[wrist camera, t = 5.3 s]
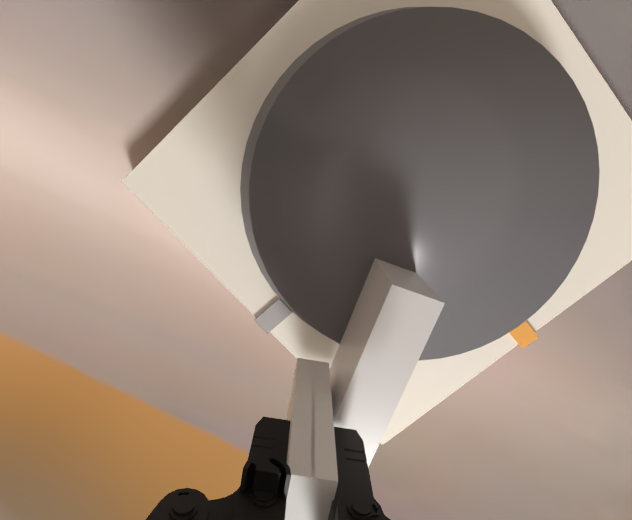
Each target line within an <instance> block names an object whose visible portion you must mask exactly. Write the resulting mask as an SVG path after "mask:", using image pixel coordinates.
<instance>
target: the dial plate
mask: <svg viewBox="0 0 632 520" xmlns="http://www.w3.org/2000/svg"><path fill="white" fill-rule="evenodd" d="M419 7H454V8H460V9H466V10H471V11H477V12H480V13H483V14H486V15H489V16H492V17H495V18H498V19H501V20H503V21H505V22H507V23H509V24H511V25H512V26H514V27H516V28H518V29H520V30H522V31H524V32H525V33H526V34H528V35H529V36H531V37H532V38H533V39H535V40H536V41H537V42H539V43H540V44H542V45H543V46H544V47H545V48H546V49H547V50H548V51H549V52H550V53H551V54H552V55H553V56H554V57H555V58H556V59H557V60H558V61H559V62H560V64H561V65H562V66H563V68H564V69H565V70H566V72H567V73H568V74H569V76H570V77H571V78H572V80H573V81H574V83H575V85H576V87H577V88H578V90H579V92H580V94H581V96H582V98H583V100H584V101H585V104H586V107H587V109H588V112H589V115H590V118H591V120H592V123H593V127H594V131H595V136H596V141H597V146H598V156H599V169H600V173H599V190H598V198H597V204H596V209H595V214H594V219H593V222H592V225H591V228H590V231H589V234H588V237H587V240H586V242H585V244H584V246H583V249H582V251H581V253H580V255H579V257H578V259H577V261H576V263H575V264H574V266H573V268H572V269H571V271H570V273H569V274H568V276H567V277H566V279H565V280H564V282H563V283H562V284H561V285H560V287H559V288H558V289H557V291H556V292H555V293H554V294H553V296H552V297H551V298H550V299H549V300H548V301H547V302H546V303H545V304H544V305H543V306H542V307H541V308H540V309H539V310H538V311H537V312H536V313H535V314H534V315H532V316H531V317H530V318H529V319H527V320H526V321H525V322H524V323H522V324H521V325H520V326H518V327H517V328H515V329H514V330H512V331H510V332H509V333H507V334H506V335H504V336H502V337H501V338H499V339H497V340H495V341H493V342H491V343H489V344H486V345H484V346H482V347H480V348H477V349H474V350H471V351H468V352H465V353H462V354H459V355H454V356H450V357H445V358H441V359H431V360H420V361H418V362H417V364H416V366H415V369H414V371H413V373H412V375H411V377H410V379H409V381H408V383H407V386H406V388H405V390H404V392H403V394H402V396H401V398H400V401H399V403H398V405H397V407H396V409H395V411H394V413H393V416H392V418H391V420H390V422H389V424H388V426H387V428H386V431H385V433H384V435H383V437H382V439H381V441H380V443H381V444H382V445H383V444H384V443H386V442H387V441H388V440H390V439H391V438H393V437H394V436H395V435H397V434H398V433H399V432H401V431H402V430H403V429H405V428H406V427H407V426H409V425H410V424H411V423H413V422H414V421H415V420H417V419H418V418H419V417H421V416H422V415H424V414H425V413H426V412H428V411H429V410H430V409H432V408H433V407H434V406H436V405H437V404H438V403H440V402H441V401H442V400H444V399H445V398H446V397H448V396H449V395H451V394H452V393H453V392H455V391H456V390H457V389H459V388H460V387H461V386H463V385H464V384H465V383H467V382H468V381H469V380H471V379H472V378H473V377H475V376H476V375H478V374H479V373H480V372H482V371H483V370H484V369H486V368H487V367H488V366H490V365H491V364H492V363H494V362H495V361H496V360H498V359H499V358H500V357H502V356H503V355H504V354H506V353H507V352H509V351H510V350H511V349H513V348H514V347H515V346H517V345H518V344H519V345H520V346H521V347H522V348H525V347H526V346H527V345H529V344H530V343H531V342H533V341H534V340H535V339H537V338H538V336H537V334H536V333H535V332H536V331H537V330H538V329H540V328H541V327H542V326H544V325H545V324H546V323H548V322H549V321H550V320H552V319H553V318H554V317H556V316H557V315H558V314H560V313H561V312H563V311H564V310H565V309H567V308H568V307H569V306H571V305H572V304H573V303H575V302H576V301H577V300H579V299H580V298H581V297H583V296H584V295H585V294H587V293H588V292H589V291H591V290H592V289H594V288H595V287H596V286H598V285H599V284H600V283H602V282H603V281H604V280H606V279H607V278H608V277H610V276H611V275H612V274H614V273H615V272H616V271H618V270H619V269H621V268H622V267H623V266H625V265H626V264H627V263H629V262H630V261H631V260H632V120H631V119H630V117H629V116H628V114H627V113H626V111H625V110H624V108H623V107H622V105H621V104H620V102H619V101H618V99H617V98H616V96H615V95H614V94H613V92H612V91H611V89H610V88H609V86H608V85H607V83H606V82H605V80H604V79H603V77H602V76H601V74H600V73H599V71H598V70H597V68H596V67H595V65H594V64H593V62H592V61H591V59H590V58H589V56H588V55H587V53H586V52H585V50H584V49H583V47H582V46H581V44H580V43H579V41H578V40H577V38H576V37H575V35H574V34H573V32H572V31H571V29H570V28H569V26H568V25H567V23H566V22H565V20H564V19H563V17H562V16H561V14H560V13H559V11H558V10H557V8H556V7H555V5H554V4H553V2H552V1H551V0H299V1H298V2H297V3H296V4H295V5H294V6H293V7H292V8H291V9H290V10H289V11H288V12H287V13H286V14H285V15H284V16H283V17H282V18H281V19H280V20H279V21H278V22H277V23H276V24H275V25H274V26H273V27H272V28H271V29H270V30H269V31H268V32H267V33H266V34H265V35H264V36H263V37H262V38H261V39H260V41H259V42H258V43H257V44H256V45H255V46H254V47H253V48H252V49H251V50H250V51H249V52H248V53H247V54H246V55H245V56H244V57H243V58H242V59H241V60H240V61H239V62H238V63H237V64H236V65H235V66H234V67H233V68H232V69H231V70H230V71H229V72H228V73H227V74H226V75H225V76H224V77H223V78H222V79H221V80H220V81H219V82H218V83H217V84H216V86H215V87H214V88H213V89H212V90H211V91H210V92H209V93H208V94H207V95H206V96H205V97H204V98H203V99H202V100H201V101H200V102H199V103H198V104H197V105H196V106H195V107H194V108H193V109H192V110H191V111H190V112H189V113H188V114H187V115H186V116H185V117H184V118H183V119H182V120H181V121H180V122H179V123H178V124H177V125H176V126H175V127H174V128H173V129H172V130H171V132H170V133H169V134H168V135H167V136H166V137H165V138H164V139H163V140H162V141H161V142H160V143H159V144H158V145H157V146H156V147H155V148H154V149H153V150H152V151H151V152H150V153H149V154H148V155H147V156H146V157H145V158H144V159H143V160H142V161H141V162H140V163H139V164H138V165H137V166H136V167H135V168H134V169H133V170H132V171H131V172H130V173H129V174H128V175H127V176H126V178H125V179H124V180H123V181H122V183H123V184H124V185H125V186H126V187H127V188H128V189H129V190H130V191H131V192H132V193H133V194H134V195H135V196H136V197H137V198H138V199H139V200H140V201H141V202H142V203H143V204H144V205H145V206H146V207H147V208H148V209H149V210H150V211H151V212H152V213H153V214H154V215H155V216H156V217H157V218H158V219H159V220H160V221H161V222H162V223H163V224H164V225H165V226H166V227H167V228H168V229H169V230H170V231H171V232H172V233H173V234H174V235H175V236H176V237H177V238H178V239H179V240H180V241H181V242H182V243H183V244H184V245H185V246H186V247H187V248H188V249H189V250H190V251H191V252H192V253H193V254H194V255H195V257H196V258H197V259H198V260H199V261H200V262H201V263H202V264H203V265H204V266H205V267H206V268H207V269H208V270H209V271H210V272H211V273H212V274H213V275H214V276H215V277H216V278H217V279H218V280H219V281H220V282H221V283H222V284H223V285H224V286H225V287H226V288H227V289H228V290H229V291H230V292H231V293H232V294H233V295H234V296H235V297H236V298H237V299H238V300H239V301H240V302H241V303H242V304H243V305H244V306H245V307H246V308H247V309H248V310H249V311H250V312H251V313H252V314H253V315H254V316H255V317H256V318H255V320H254V321H255V322H256V323H257V324H258V325H259V326H260V327H261V328H262V329H263V330H264V331H265V332H266V333H267V334H268V333H269V332H271V333H272V334H273V335H274V336H275V337H276V338H277V339H278V340H279V341H280V342H281V343H282V344H283V345H284V346H285V347H286V348H287V349H288V350H289V351H290V352H291V353H292V354H293V355H294V356H295V357H296V358H303V359H309V360H315V361H321V362H327V363H329V369H330V367H331V364H332V362H333V360H334V357H335V355H336V352H337V350H338V347H339V345H340V344H339V343H337V342H335V341H334V340H332V339H330V338H328V337H327V336H325V335H323V334H322V333H320V332H319V331H318V330H316V329H315V328H314V327H312V326H311V325H310V324H308V323H307V322H306V321H305V320H304V319H303V318H302V317H300V316H299V315H298V314H297V313H296V312H295V311H294V310H293V309H292V308H291V307H290V305H289V304H288V303H287V302H286V300H285V299H284V298H283V296H282V295H281V294H280V293H279V291H278V290H277V288H276V287H275V285H274V283H273V281H272V280H271V278H270V276H269V275H268V273H267V271H266V269H265V266H264V264H263V262H262V259H261V257H260V255H259V252H258V249H257V245H256V242H255V238H254V235H253V230H252V224H251V217H250V210H249V182H250V173H251V164H252V160H253V156H254V151H255V147H256V143H257V140H258V137H259V134H260V132H261V129H262V127H263V124H264V121H265V119H266V117H267V115H268V113H269V111H270V109H271V107H272V105H273V104H274V102H275V100H276V98H277V96H278V95H279V93H280V92H281V91H282V89H283V88H284V86H285V85H286V84H287V82H288V81H289V80H290V78H291V77H292V75H293V74H294V73H295V72H296V71H297V70H298V69H299V68H300V67H301V66H302V65H303V64H304V63H305V62H306V61H307V59H308V58H309V57H310V56H311V55H313V54H314V53H315V52H316V51H318V50H319V49H320V48H321V47H323V46H324V45H325V44H326V43H328V42H329V41H330V40H332V39H333V38H335V37H337V36H338V35H340V34H341V33H343V32H345V31H346V30H348V29H350V28H351V27H353V26H356V25H358V24H360V23H363V22H365V21H367V20H369V19H372V18H374V17H376V16H380V15H384V14H387V13H391V12H395V11H398V10H403V9H411V8H419Z"/></svg>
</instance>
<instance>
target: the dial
mask: <svg viewBox="0 0 632 520" xmlns="http://www.w3.org/2000/svg"><path fill="white" fill-rule="evenodd" d="M599 173H600V169H599V156H598V146H597V141H596V136H595V131H594V127H593V123H592V120H591V118H590V115H589V112H588V109H587V107H586V104H585V101H584V100H583V98H582V96H581V94H580V92H579V90H578V88H577V87H576V85H575V83H574V81H573V80H572V78H571V77H570V76H569V74H568V73H567V72H566V70H565V69H564V68H563V66H562V65H561V64H560V62H559V61H558V60H557V59H556V58H555V57H554V56H553V55H552V54H551V53H550V52H549V51H548V50H547V49H546V48H545V47H544V46H543V45H542V44H540V43H539V42H537V41H536V40H535V39H533V38H532V37H531V36H529V35H528V34H526V33H525V32H524V31H522V30H520V29H518V28H516V27H514V26H512V25H511V24H509V23H507V22H505V21H503V20H501V19H498V18H495V17H492V16H489V15H486V14H483V13H480V12H477V11H471V10H466V9H460V8H454V7H419V8H411V9H403V10H398V11H395V12H391V13H387V14H384V15H380V16H376V17H374V18H372V19H369V20H367V21H365V22H363V23H360V24H358V25H356V26H353V27H351V28H350V29H348V30H346V31H345V32H343V33H341V34H340V35H338V36H337V37H335V38H333V39H332V40H330V41H329V42H328V43H326V44H325V45H324V46H323V47H321V48H320V49H319V50H318V51H316V52H315V53H314V54H313V55H311V56H310V57H309V58H308V59H307V61H306V62H305V63H304V64H303V65H302V66H301V67H300V68H299V69H298V70H297V71H296V72H295V73H294V74H293V75H292V77H291V78H290V80H289V81H288V82H287V84H286V85H285V86H284V88H283V89H282V91H281V92H280V93H279V95H278V96H277V98H276V100H275V102H274V104H273V105H272V107H271V109H270V111H269V113H268V115H267V117H266V119H265V121H264V124H263V127H262V129H261V132H260V134H259V137H258V140H257V143H256V147H255V151H254V156H253V160H252V164H251V173H250V182H249V210H250V217H251V224H252V230H253V235H254V238H255V242H256V245H257V249H258V252H259V255H260V257H261V259H262V262H263V264H264V266H265V269H266V271H267V273H268V275H269V276H270V278H271V280H272V281H273V283H274V285H275V287H276V288H277V290H278V291H279V293H280V294H281V295H282V296H283V298H284V299H285V300H286V302H287V303H288V304H289V305H290V307H291V308H292V309H293V310H294V311H295V312H296V313H297V314H298V315H299V316H300V317H302V318H303V319H304V320H305V321H306V322H307V323H308V324H310V325H311V326H312V327H314V328H315V329H316V330H318V331H319V332H320V333H322V334H323V335H325V336H327V337H328V338H330V339H332V340H334V341H335V342H337V343H339V344H340V345H339V347H338V350H337V352H336V355H335V357H334V360H333V362H332V364H331V367H330V369H329V370H330V382H331V395H332V408H333V421H334V427H340V428H346V429H353V430H356V431H357V432H358V434H359V435H360V437H361V438H362V440H363V442H364V448H365V454H366V459H367V464H368V467H369V465H370V463H371V461H372V458H373V456H374V454H375V452H376V450H377V448H378V446H379V443H380V441H381V439H382V437H383V435H384V433H385V431H386V428H387V426H388V424H389V422H390V420H391V418H392V416H393V413H394V411H395V409H396V407H397V405H398V403H399V401H400V398H401V396H402V394H403V392H404V390H405V388H406V386H407V383H408V381H409V379H410V377H411V375H412V373H413V371H414V369H415V366H416V364H417V362H418V361H420V360H431V359H441V358H445V357H450V356H454V355H459V354H462V353H465V352H468V351H471V350H474V349H477V348H480V347H482V346H484V345H486V344H489V343H491V342H493V341H495V340H497V339H499V338H501V337H502V336H504V335H506V334H507V333H509V332H510V331H512V330H514V329H515V328H517V327H518V326H520V325H521V324H522V323H524V322H525V321H526V320H527V319H529V318H530V317H531V316H532V315H534V314H535V313H536V312H537V311H538V310H539V309H540V308H541V307H542V306H543V305H544V304H545V303H546V302H547V301H548V300H549V299H550V298H551V297H552V296H553V294H554V293H555V292H556V291H557V289H558V288H559V287H560V285H561V284H562V283H563V282H564V280H565V279H566V277H567V276H568V274H569V273H570V271H571V269H572V268H573V266H574V264H575V263H576V261H577V259H578V257H579V255H580V253H581V251H582V249H583V246H584V244H585V242H586V240H587V237H588V234H589V231H590V228H591V225H592V222H593V219H594V214H595V209H596V204H597V198H598V190H599Z"/></svg>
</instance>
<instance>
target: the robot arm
mask: <svg viewBox="0 0 632 520" xmlns="http://www.w3.org/2000/svg"><path fill="white" fill-rule="evenodd" d="M146 520H390V519H389V518H388V517H386V516H385V515H384V513H383V511H382V509H381V506H380V505H379V503H378V502H377V501H376V500H375V499H374V497H373V492H372V486H371V481H370V475H369V470H368V464H367V459H366V454H365V448H364V442H363V440H362V438H361V437H360V435H359V434H358V432H357V431H356V430H353V429H346V428H340V427H334V421H333V408H332V395H331V382H330V370H329V363H327V362H321V361H315V360H309V359H303V358H297V364H296V369H295V375H294V380H293V386H292V391H291V396H290V402H289V407H288V413H287V420H282V419H275V418H268V417H263V418H262V419H261V420H260V421H259V422H258V423H257V424H256V426H255V431H254V435H253V440H252V444H251V449H250V453H249V457H248V461H247V462H246V464H245V466H244V468H243V474H242V479H241V486H240V487H239V489H238V490H237V491H235V492H234V493H233V494H231V495H229V496H227V497H225V498H221V499H216V500H209V501H208V499H207V498H206V496H205V495H204V494H203V493H201V492H200V491H198V490H195V489H190V488H185V489H178V490H175V491H173V492H171V493H169V494H167V495H166V496H165V497H164V498H163V499H162V500H161V501H160V502H159V503H158V505H157V506H156V507H155V508H154V510H153V511H152V512H151V514H150V515H149V516H148V518H147V519H146Z"/></svg>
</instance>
